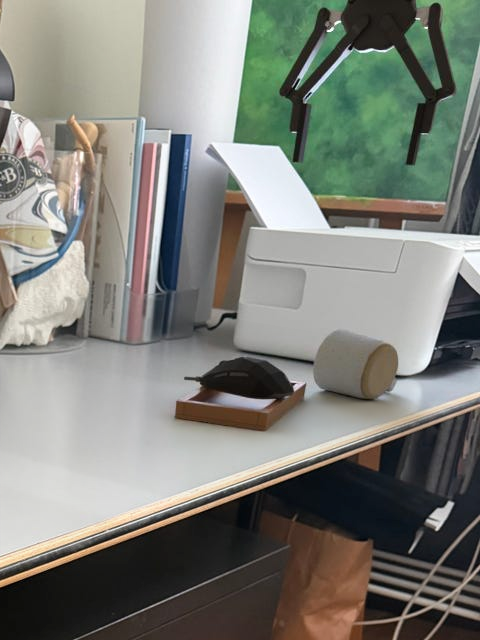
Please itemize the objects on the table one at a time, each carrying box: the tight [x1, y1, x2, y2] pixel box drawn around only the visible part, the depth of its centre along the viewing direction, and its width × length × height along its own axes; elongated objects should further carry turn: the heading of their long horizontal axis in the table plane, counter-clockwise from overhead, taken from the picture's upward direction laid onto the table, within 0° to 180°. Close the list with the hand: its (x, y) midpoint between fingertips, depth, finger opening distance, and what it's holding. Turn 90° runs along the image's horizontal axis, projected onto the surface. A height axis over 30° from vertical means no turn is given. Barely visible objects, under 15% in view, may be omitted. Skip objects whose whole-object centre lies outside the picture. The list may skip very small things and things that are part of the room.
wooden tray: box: [174, 380, 307, 432], centre depth 113 cm, size 10×20×2 cm, turn 151°
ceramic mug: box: [312, 328, 399, 400], centre depth 120 cm, size 11×8×8 cm
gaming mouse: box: [183, 356, 294, 399], centre depth 112 cm, size 6×15×4 cm, turn 43°
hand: (352, 164), depth 117 cm, fingers open, 13 cm apart
